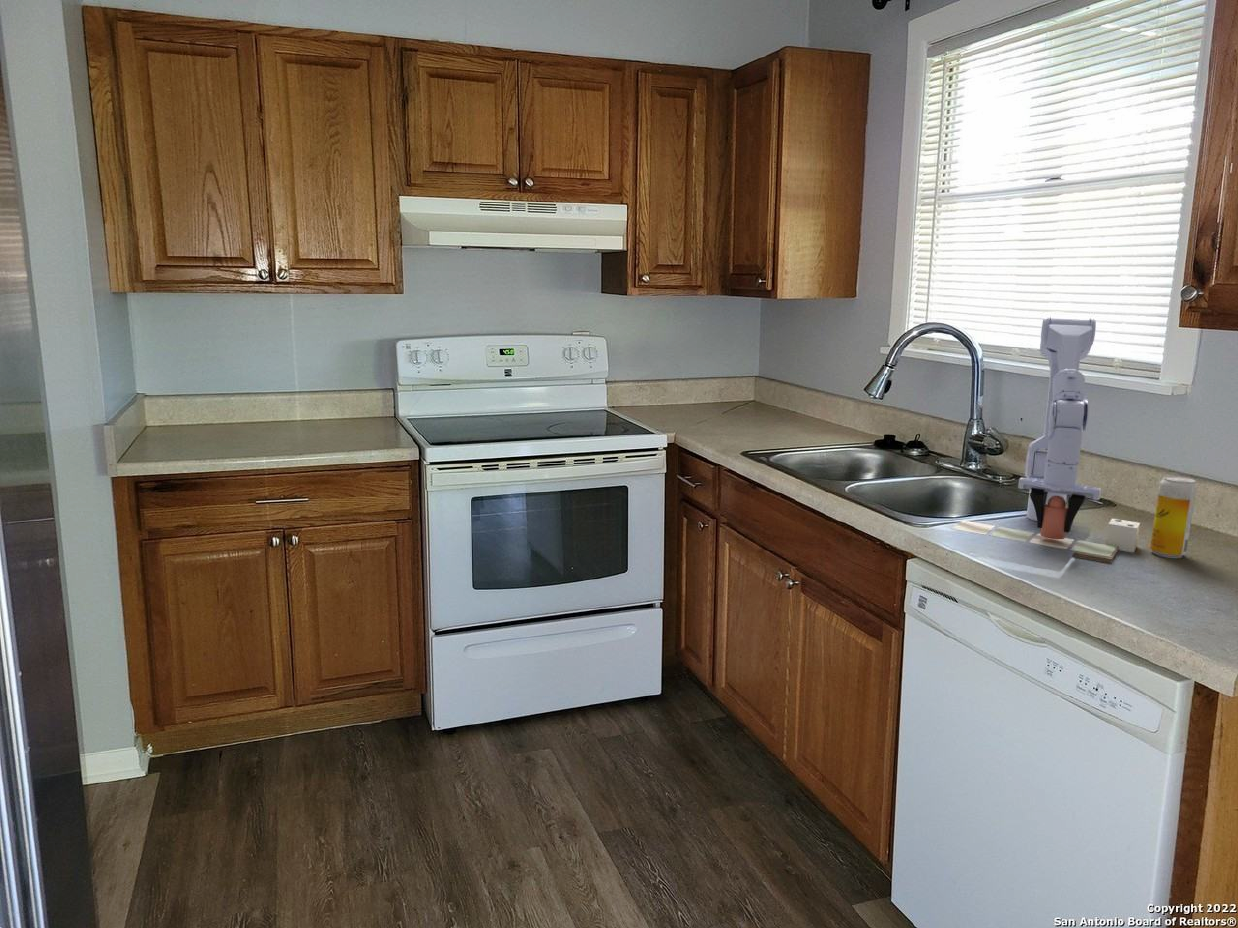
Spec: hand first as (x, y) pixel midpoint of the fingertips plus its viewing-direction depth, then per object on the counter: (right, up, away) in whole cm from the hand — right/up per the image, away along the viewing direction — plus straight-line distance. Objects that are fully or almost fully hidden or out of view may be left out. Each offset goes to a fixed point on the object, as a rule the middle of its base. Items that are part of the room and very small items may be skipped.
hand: (1053, 529), depth 184 cm
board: (-3, -3, +3) cm, 5 cm away
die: (+14, -4, +1) cm, 15 cm away
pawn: (0, -1, 0) cm, 1 cm away
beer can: (+21, -5, -3) cm, 22 cm away
